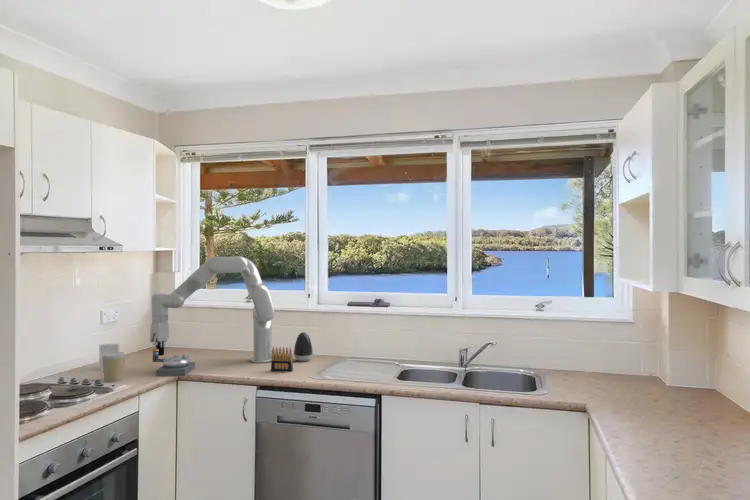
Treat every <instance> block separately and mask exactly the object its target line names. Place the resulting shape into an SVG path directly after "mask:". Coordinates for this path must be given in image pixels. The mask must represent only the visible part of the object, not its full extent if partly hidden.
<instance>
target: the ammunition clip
mask: <svg viewBox="0 0 750 500" xmlns="http://www.w3.org/2000/svg"><path fill="white" fill-rule="evenodd" d="M271 351H272V361H271V362H270V363H271V365H270V371H271V372H285V371H287V372H289V373H291V372H293V371H294V368H293V354H292V353H293V350H292V347H291V346H290V347H289V349H288V347H286V348H285V347H284V346H283V347H282V348H281V346H279V349H278V346H276V347H275V346H272V348H271ZM278 354H279V356H278ZM287 372H286V373H287Z"/></svg>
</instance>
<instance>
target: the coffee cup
mask: <svg viewBox="0 0 750 500" xmlns="http://www.w3.org/2000/svg"><path fill="white" fill-rule="evenodd" d="M102 358H103V370H102V371H103V380H104V383H117V382H121V381H123V380H124V374H125V362H126V361H125V359H126V353H125V352H122V351H119V352H113V353H107V354H104V355H103V356H102Z"/></svg>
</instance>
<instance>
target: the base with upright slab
mask: <svg viewBox="0 0 750 500" xmlns="http://www.w3.org/2000/svg"><path fill="white" fill-rule="evenodd" d="M98 350H99V358H98V359H99V360H98V361H99V362H98V363H99V364H98V365H99V366H98V369H99V370H101V371H103V358H102V356H103V355H104V354H107V353H113V352H120V343H119V342H117V343H104V344H103V343H100V344H99V349H98Z"/></svg>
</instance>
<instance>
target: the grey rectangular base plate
mask: <svg viewBox="0 0 750 500" xmlns="http://www.w3.org/2000/svg"><path fill="white" fill-rule="evenodd" d="M195 366H196V365H195V361H189V365H188V366H185V367H180V368H165V367H163V365H162V366H160V367H159V368H157V369H156V377H179V376H180V377H181V376H183V377H184V376H186V375H188V374H189V373H190V372H191V371H192V370H194V369H195Z"/></svg>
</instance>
